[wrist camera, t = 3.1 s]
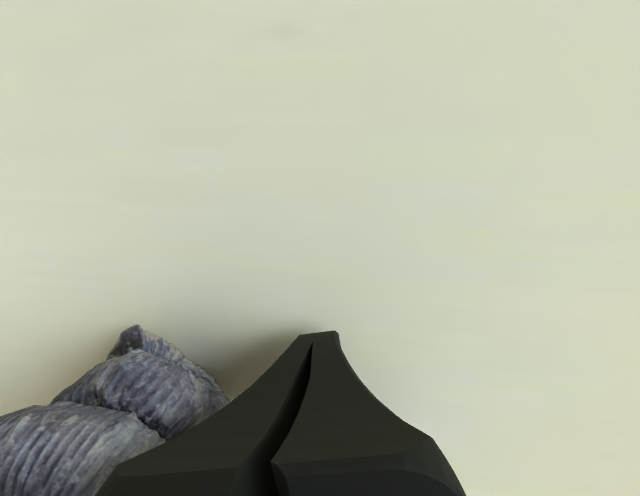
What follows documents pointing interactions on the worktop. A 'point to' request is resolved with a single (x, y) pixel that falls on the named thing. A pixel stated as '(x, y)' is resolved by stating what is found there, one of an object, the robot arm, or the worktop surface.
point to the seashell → (105, 419)
